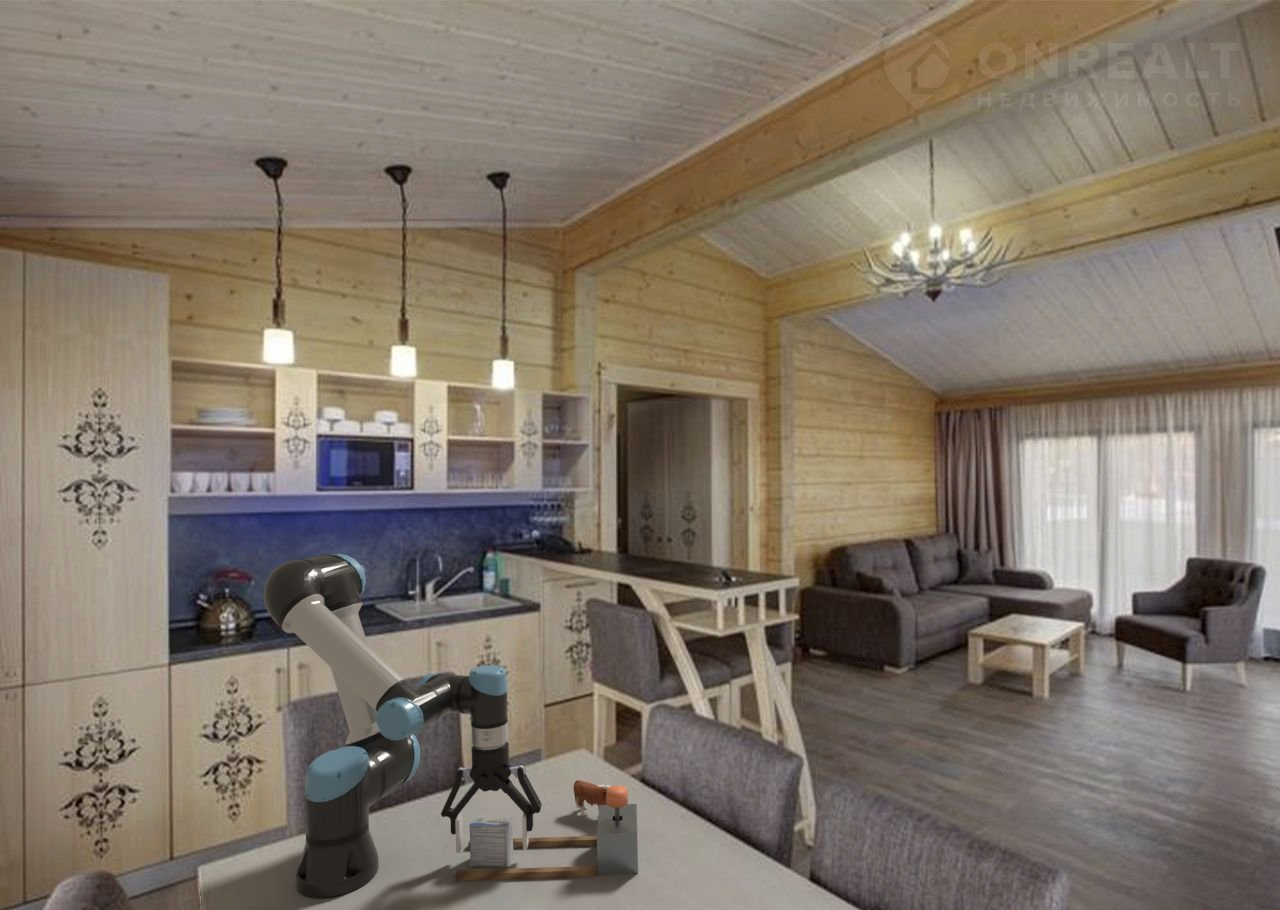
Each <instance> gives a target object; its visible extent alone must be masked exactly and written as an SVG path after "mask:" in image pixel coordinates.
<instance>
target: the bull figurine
mask: <svg viewBox="0 0 1280 910" xmlns="http://www.w3.org/2000/svg"><path fill="white" fill-rule="evenodd" d="M609 787H612V786H611V785H610V784H596V783H591V782H589V781H585V780H580V779H577V780H576V781H574V784H573V795H574V803H575V805H576V808H577V809H580V814H581V815H582V817H584V818H585V817H587V816H588V814H587V812H586V810H588V809H587V807H586V804H585V802H586V803H587V804H588V805H590V806H591V807H593V806H596V805H597V807H598V809H599V805H607V801H606V790H607V789H608V788H609Z"/></svg>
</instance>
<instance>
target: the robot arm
mask: <svg viewBox="0 0 1280 910" xmlns="http://www.w3.org/2000/svg"><path fill="white" fill-rule="evenodd" d="M366 580H367V579H366V573H365V572H364V569H363V567H362V565H361V564H360V563H359V562H358V561H357V560H356V559H355V558H353V557H351V556H349V555H347V554H343V553H336V554H333V553H331V554H328V553H327V554H325V555H320V556H314V557H313V556H312V557H309V558H302V559H301V558H300V559H293V560H290V561H287V562H284V563H282V564H281V565H278V566H277V567H276V568H274V570H273V571H271V573H270V575H269V576H268V577H267V579H266V581H265V584H264V587H263V601H264V606H265V608H266V610H267V613H268V614H269V616H270V617H271V618H272V619H271V620H273V621H274V623H275V624H277V625H278V627H279V628H280V629H282V631H284V632H285V633H287V634H293V633H294V634H295V635H296V636H297V637H298V638H299V639H300V640H301V641H303V643H305V644H306V646H308V648H309V649H311V650H312V651H313V652H314V653H315V654H316V655H317V656H318V657H319V658H320V659H321V660H322V661H323V662H324V663H326V664H327V665H328V667H330V670H331V673H332V677H333V680H334V683H335V687H336V690H337V693H338V696H339V700H340V703H341V706H342V709H343V712H344V716H345V720H346V723H347V726H348V730H349V734H348V737H347V738H346V741H345V746H342V747H339V748H337V749H335V750H334V749H331V750H329V751H327V752H325V753H322V754H321V755H320V756H317V757H316V758H315V759H314V760H313V761H312V762H311V763H310V764H309V766H308V768H307V770H306V773H305V784H304V788H303V790H304V791H303V792H304V811H305V812H304V816H305V818H304V819H305V845H304V847H303V851H302V854H301V857H300V860H299V864H298V867H297V870H296V874H295V876H296V877H295V886H296V890H297V891H298V892H299V893H300V894H301V895H303V896H306V897H309V898H316V899H318V898H319V899H321V898H332V897H337V896H341V895H346V894H347V893H350V892H353V891H355V890H358V889H359V888H361V887H363V886H364V885H366V884H368V883H369V882H370V881H371V880H372V879H374V877H375V876H376V874H377V873H378V871H379V853H378V851H377V847H376V845H375V842H374V840H373V837H372V835H371V832H370V823H369V819H370V816H369V814H370V813H369V808H370V807H372V806H373V805H375V804H376V803H377V802H378V801H380V800H381V799H383V798H384V797H386V796H387V795H389V794H391V793H392V792H394V791H396V790H398V789H400V788H402V787H403V786H404V785H405V784H406V782H408V781H409V780H411V779H412V777H414V775H415V774H416V772H417V770H418V768H419V765H420V762H421V749H420V744H419V741H418V739H417V736H415V734H416V733H417V732H419V731H420V730H422V729H423V728H425V727H426V726H428V725H429V724H432V723H433V722H435V721H437V720H439V719H440V718H442V717H444V716H447V715H448V714H450V713H452V714H464V715H465V714H466V715H468V714H469V715H470V732H471V733H470V736H471V737H470V738H471V742H470V743H471V745H472V747H471V768H465V766H463V765H461V766H459V767H458V768H457V771H456V773H455V782H454V784H453V786H452V788H451V790H450V792H449V794H448V797H447V799H446V801H445V803H444V806H443V808H442V810H441V813H440V816H441V817H443V818H445V817H446V818H447V817H448V818H449V820H450V834H451V835H455V853H458V854H459V853H461V851H462V849H463V847H464V834H463V833H464V832H463V829H464V828H463V813H461V812H462V810H463V809H464V808H465V807H466V806H467V804H468V803H469V802H470V800H471V799H472V798H473V797H474V795H476V793H477V792H479V790H481V791H482V792H488V791H492V792H498V791H499V790H501V791H502V792H503V793H504V794H506V795H507V796H508V797H509V799H511V800H512V801H513V803H515V805H516V806H517V807H518V808H519V809H520V811H522V812H523V813H522V817H521V820H522V821H521V823H522V827H521V828H522V838H523V848H522V851H527V850H528V848H529V847H528V843H529V839H528V838H529V832H533V831H532V830H533V828H534V815H535V814H539V813H540V812H541V809H542V801H541V800H540V798H539V796H538V794H537V792H536V791H535V788H534V786H533V785H532V783H531V781H530V779H529V778H528V775H527V773H526V767H525V764H524V763H520V764H519V765H516V766H512V767H511V765H510V746H509V745H510V744H509V742H508V741H509V738H510V737H509V720H508V717H509V716H508V691H509V687H508V682H507V681H508V680H507V672H506V669H505V668H504V667H503V666H500V665H497V664H495V665H494V664H489V665H480V666H477V667H474V668H473V669H471V670H470V672H469V675H463V674H461V675H460V674H450V673H449V674H448V673H447V674H446V673H443V672H438V673H428V674H426V675H424V676H423V677H422V678H421V680H420V681H419V682H418V683H417V686H416V688H415V687H414V686H412V684H410V682H408V681H407V680H406V679H405V678H403V676H401V675H400V674H399V673H398V671H396V670H395V669H394V668H393V667H392V666H390V665H389V663H387V662H386V660H384V659H383V658H382V657H381V656H380V655H379V654H378V653H377V652H375V651H374V650H373V649H372V648H371V646H369V644H368V641H367V638H366V635H365V632H364V628H363V626H362V622H361V619H360V615H359V613H360V610H361V608H362V606H363V601H362V597H361V596H362V595H363V594H364V591H365V587H366V584H367V581H366ZM511 775H513V776H514V777H515V779H518V783H519V785H520V787H521V788H522V791H523V792H524V794H525V796H524V795H523V794H522V793H521V791H519V790H518V788H517V787H516V786H515V785H514V783H513V781H512V780H511V779H510V776H511ZM468 776H469V777H470V779H472V781H473V783H472V785H471V786H470V787H469V789H468V790H467V791H466V792H465V794H464V795H463V797H462V798H461V799H460V800H459V801H458V802H457V803H456V805H455V806H454V807H452V805H453V802H454V801H455V799H456V796H457V795H458V792H459V790H460V788H461V785H462V784H463V781H465V780H467V778H468Z"/></svg>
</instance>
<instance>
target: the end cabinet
mask: <svg viewBox="0 0 1280 910" xmlns="http://www.w3.org/2000/svg"><path fill="white" fill-rule="evenodd" d="M637 809H638V807H637V803H627V805H625V806H623V807H620V821H615V808H613V807H610V806H608V805H599V808H598V816H597V829H596V836H597V845H596V853H597V856H596V859H597V861H596V862H597V865H596V866H597V867H598V876H600V875H601V876H602V875H603V876H604V875H605V876H606V875H632V874H636V875H637V874H639V863H638V861H639V855H638V853H639V852H638V811H637Z"/></svg>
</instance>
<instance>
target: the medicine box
mask: <svg viewBox="0 0 1280 910" xmlns="http://www.w3.org/2000/svg"><path fill="white" fill-rule="evenodd" d="M513 830H514V829H513V815H512V814H483V813H482V814H478V813H477V814H476V815H475V816H474V817H473V819H472V820H471V822H470V823H469V841H470V849H469V850H470V851H469V856H470V857H469V858H470V859H469V861H470V865H469V866H470V867H489V868H490V867H495V868H496V867H497V868H499V867H501V868H509V866H510V863H511V861H512V859H513V856H514V848H513V838H514V835H513Z"/></svg>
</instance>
